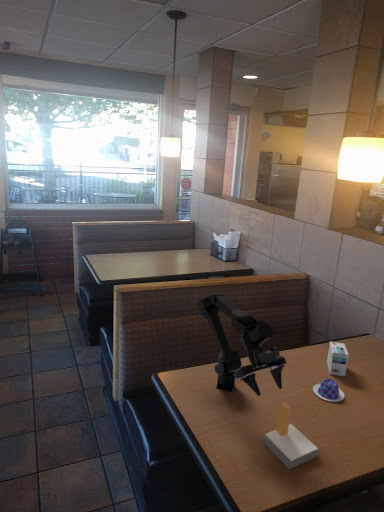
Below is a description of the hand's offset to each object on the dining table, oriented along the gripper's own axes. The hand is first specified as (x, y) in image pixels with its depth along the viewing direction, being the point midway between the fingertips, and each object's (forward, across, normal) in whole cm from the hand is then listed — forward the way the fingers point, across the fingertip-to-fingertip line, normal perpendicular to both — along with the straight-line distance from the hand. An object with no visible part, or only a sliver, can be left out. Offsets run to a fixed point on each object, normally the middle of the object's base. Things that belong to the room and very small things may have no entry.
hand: (270, 392), depth 128 cm
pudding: (+7, +35, +13) cm, 38 cm away
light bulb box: (-2, +52, +21) cm, 56 cm away
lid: (+16, 0, -1) cm, 16 cm away
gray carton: (+18, 0, +1) cm, 18 cm away
